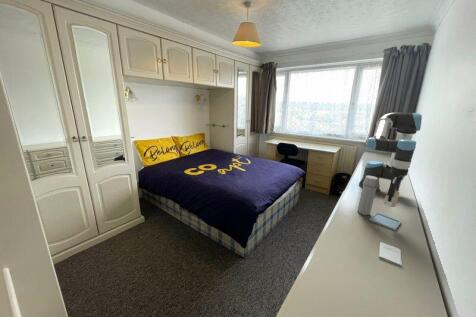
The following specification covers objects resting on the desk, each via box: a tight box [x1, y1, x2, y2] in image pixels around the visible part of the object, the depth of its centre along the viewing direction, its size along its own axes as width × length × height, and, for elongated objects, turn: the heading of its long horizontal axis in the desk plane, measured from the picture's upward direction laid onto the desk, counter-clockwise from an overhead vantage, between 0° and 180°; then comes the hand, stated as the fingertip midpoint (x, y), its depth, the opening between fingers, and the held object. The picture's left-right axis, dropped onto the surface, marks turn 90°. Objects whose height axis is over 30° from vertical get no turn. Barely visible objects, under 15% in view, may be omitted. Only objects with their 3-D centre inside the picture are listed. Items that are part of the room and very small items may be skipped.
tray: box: [368, 211, 402, 232], centre depth 117 cm, size 13×13×1 cm
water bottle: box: [357, 176, 378, 216], centre depth 122 cm, size 9×8×25 cm
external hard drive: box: [378, 241, 403, 268], centre depth 91 cm, size 2×8×12 cm
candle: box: [383, 189, 400, 208], centre depth 113 cm, size 6×6×10 cm
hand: (389, 204), depth 114 cm, fingers closed on candle, 5 cm apart
